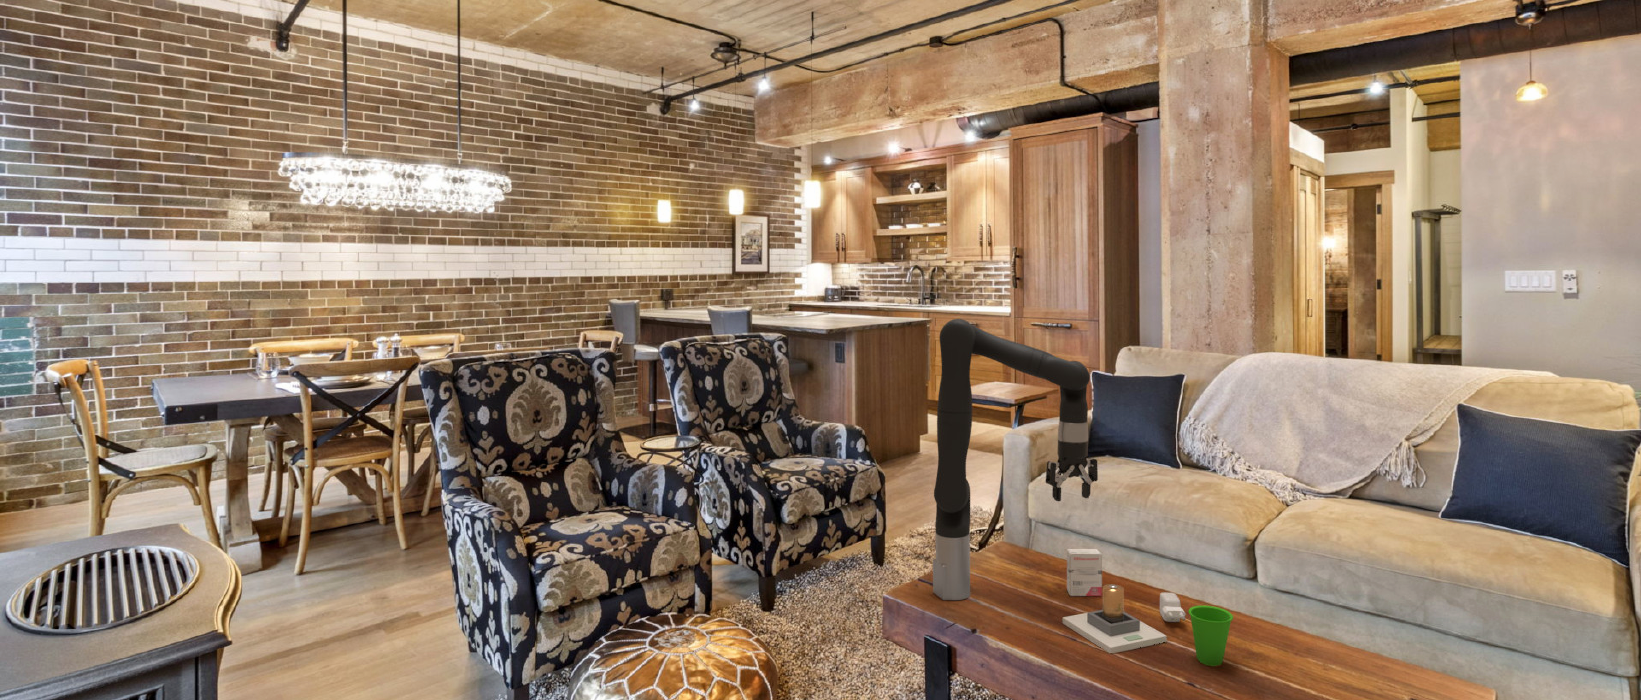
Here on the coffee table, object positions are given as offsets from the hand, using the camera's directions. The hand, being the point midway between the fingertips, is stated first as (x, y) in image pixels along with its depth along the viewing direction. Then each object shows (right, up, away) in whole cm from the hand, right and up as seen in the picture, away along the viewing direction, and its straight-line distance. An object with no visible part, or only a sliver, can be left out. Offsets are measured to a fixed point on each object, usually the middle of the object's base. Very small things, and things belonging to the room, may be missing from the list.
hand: (1071, 499), depth 217 cm
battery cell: (+5, -28, -17) cm, 33 cm away
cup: (+21, -31, -32) cm, 49 cm away
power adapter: (+21, -29, -12) cm, 38 cm away
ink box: (+6, -27, +8) cm, 29 cm away
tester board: (+5, -29, -17) cm, 34 cm away
